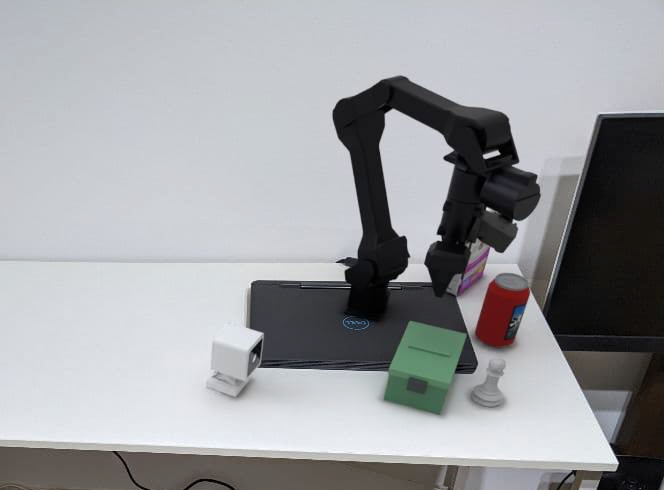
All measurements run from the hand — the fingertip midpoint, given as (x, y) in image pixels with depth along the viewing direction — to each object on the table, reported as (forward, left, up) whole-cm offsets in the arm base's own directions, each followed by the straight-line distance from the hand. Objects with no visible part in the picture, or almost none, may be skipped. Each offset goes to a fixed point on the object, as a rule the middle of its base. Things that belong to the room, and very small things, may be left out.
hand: (444, 284), depth 141 cm
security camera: (-27, -25, -13) cm, 39 cm away
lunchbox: (+1, -10, -13) cm, 17 cm away
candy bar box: (+1, +26, -13) cm, 29 cm away
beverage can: (+10, +8, -13) cm, 18 cm away
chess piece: (+11, -10, -13) cm, 20 cm away
